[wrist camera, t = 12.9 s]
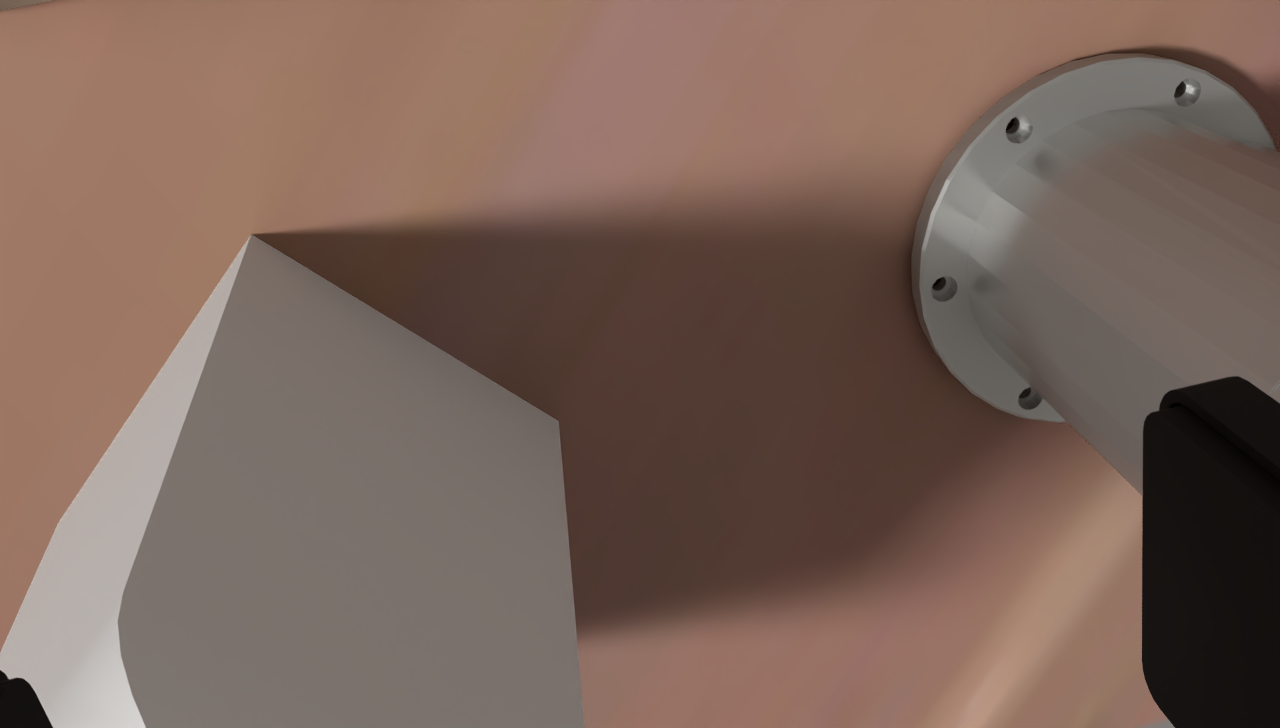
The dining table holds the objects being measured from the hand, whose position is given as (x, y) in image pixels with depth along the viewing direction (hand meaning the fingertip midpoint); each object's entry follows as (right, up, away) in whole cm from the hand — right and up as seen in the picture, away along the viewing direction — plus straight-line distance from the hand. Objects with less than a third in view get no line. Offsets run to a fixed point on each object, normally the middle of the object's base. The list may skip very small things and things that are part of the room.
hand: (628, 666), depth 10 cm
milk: (-11, -1, +30) cm, 32 cm away
